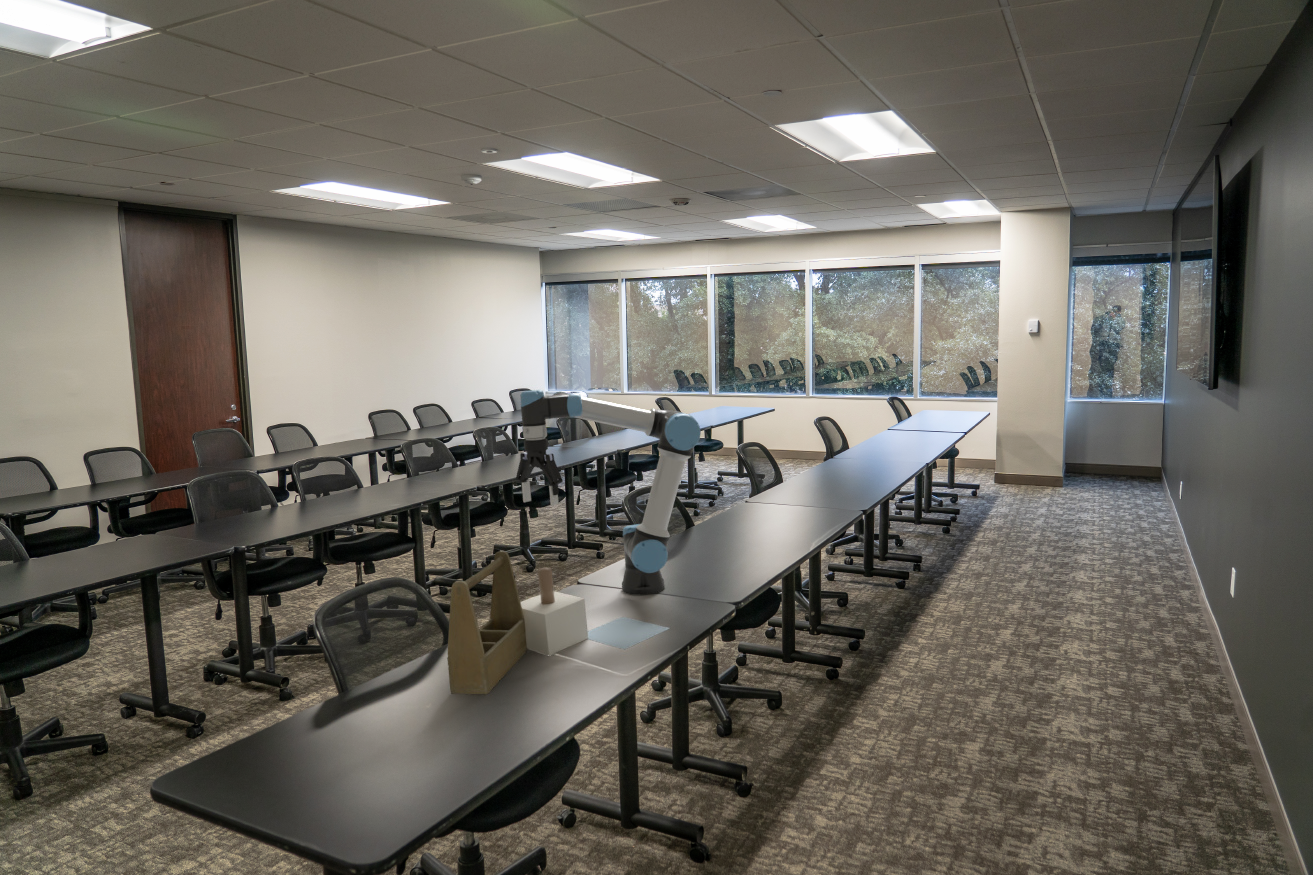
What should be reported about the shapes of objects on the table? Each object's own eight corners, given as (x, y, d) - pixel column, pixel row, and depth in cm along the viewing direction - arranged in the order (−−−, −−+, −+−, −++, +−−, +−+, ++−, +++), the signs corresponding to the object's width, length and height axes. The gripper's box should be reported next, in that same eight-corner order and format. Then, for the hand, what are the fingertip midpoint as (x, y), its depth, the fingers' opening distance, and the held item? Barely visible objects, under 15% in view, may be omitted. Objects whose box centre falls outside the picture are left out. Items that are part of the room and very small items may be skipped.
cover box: (554, 628, 257) (547, 558, 254) (588, 638, 247) (581, 565, 244) (515, 645, 246) (507, 572, 243) (549, 656, 236) (541, 580, 233)
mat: (622, 617, 264) (622, 616, 264) (670, 629, 251) (670, 628, 251) (576, 637, 250) (576, 635, 250) (624, 650, 236) (624, 649, 236)
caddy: (488, 695, 212) (477, 581, 209) (449, 693, 214) (438, 581, 211) (528, 651, 241) (519, 550, 237) (493, 651, 243) (484, 551, 239)
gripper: (501, 438, 273) (507, 502, 275) (552, 441, 256) (557, 508, 259) (519, 435, 278) (525, 497, 281) (570, 438, 262) (575, 504, 264)
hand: (540, 503), depth 270 cm, fingers open, 13 cm apart
